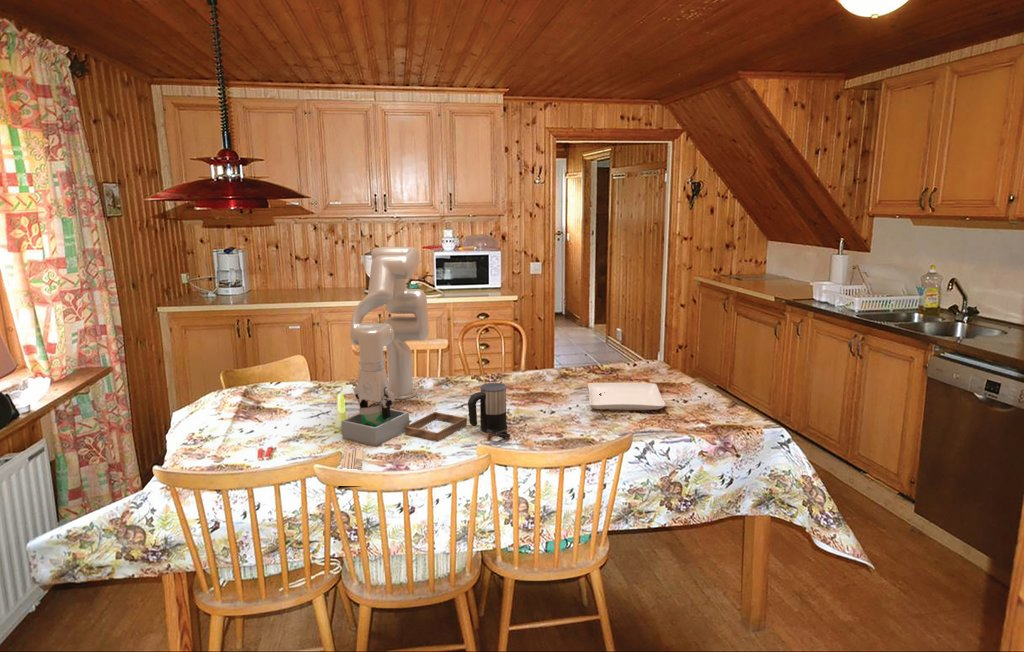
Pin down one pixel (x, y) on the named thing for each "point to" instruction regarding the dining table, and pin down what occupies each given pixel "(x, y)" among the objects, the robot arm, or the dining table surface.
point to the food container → (373, 415)
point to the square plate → (625, 396)
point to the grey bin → (374, 428)
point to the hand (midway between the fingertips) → (375, 415)
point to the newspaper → (352, 459)
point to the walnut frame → (414, 431)
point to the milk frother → (490, 409)
